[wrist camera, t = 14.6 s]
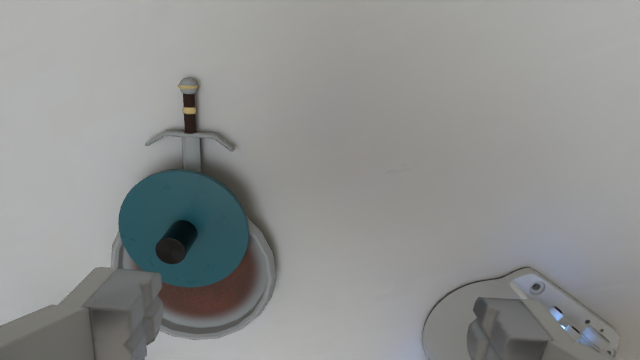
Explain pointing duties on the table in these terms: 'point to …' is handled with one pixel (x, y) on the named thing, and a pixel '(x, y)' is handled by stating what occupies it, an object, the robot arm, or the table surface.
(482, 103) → the table surface
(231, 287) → the frying pan
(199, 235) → the lid
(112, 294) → the robot arm
